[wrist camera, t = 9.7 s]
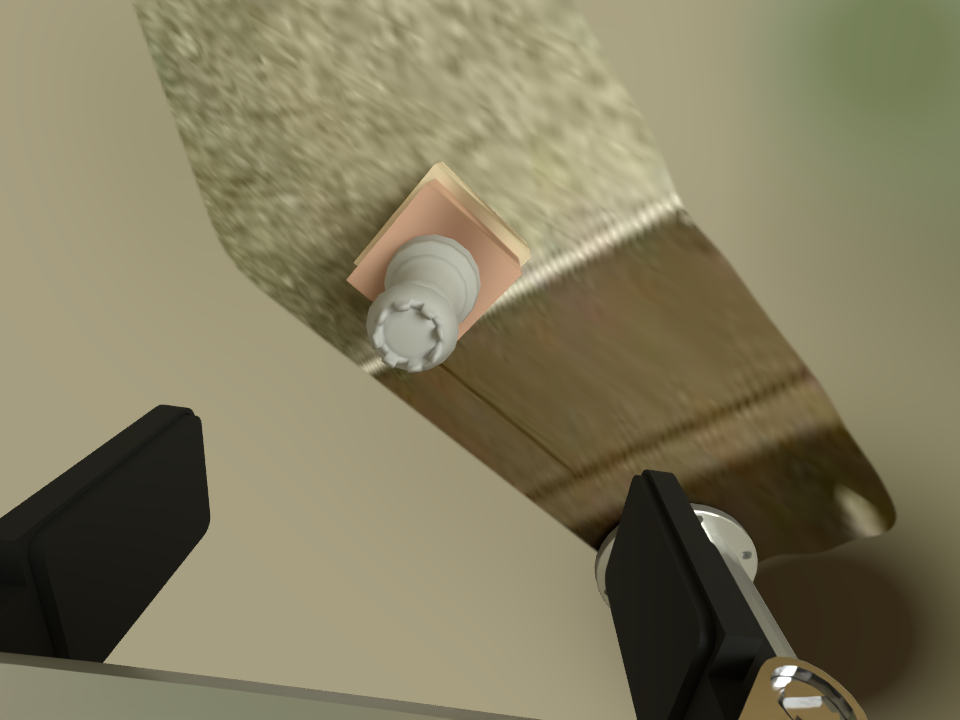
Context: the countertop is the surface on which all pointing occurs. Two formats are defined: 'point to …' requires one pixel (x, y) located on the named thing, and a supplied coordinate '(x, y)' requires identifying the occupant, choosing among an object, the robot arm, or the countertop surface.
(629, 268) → the countertop surface
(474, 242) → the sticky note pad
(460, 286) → the rook chess piece
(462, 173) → the countertop surface
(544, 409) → the countertop surface
